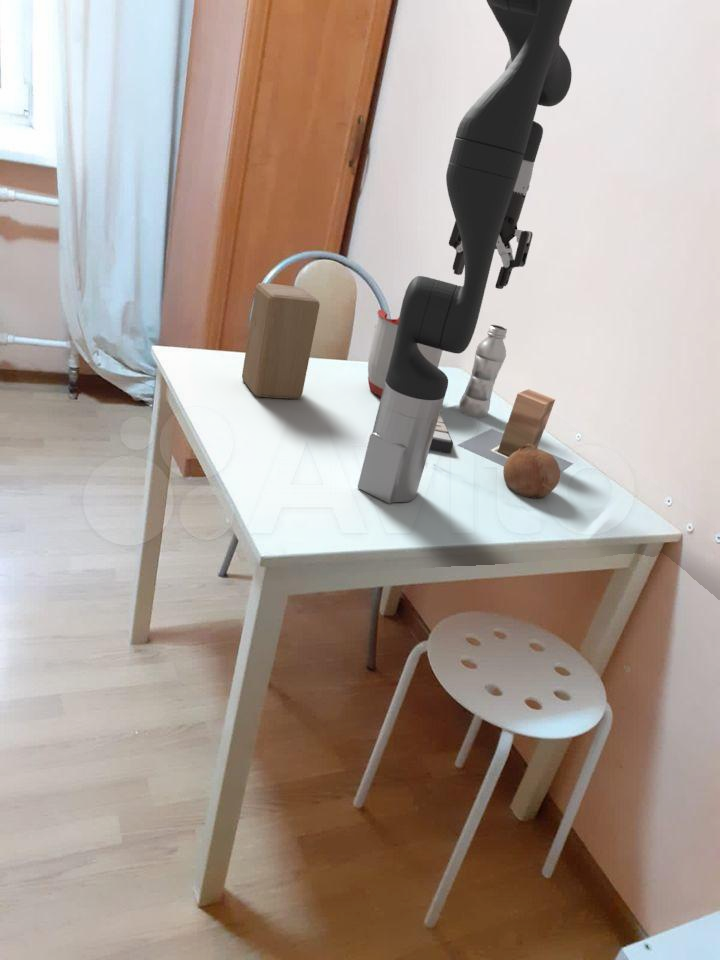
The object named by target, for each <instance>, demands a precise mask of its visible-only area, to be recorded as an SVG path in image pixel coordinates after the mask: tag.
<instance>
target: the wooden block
mask: <svg viewBox="0 0 720 960" xmlns="http://www.w3.org/2000/svg"><path fill="white" fill-rule="evenodd" d="M253 297H254V298H253V304H252V310H251V316H250V321H249V323H250V324H249V328H248V335H247V341H246V348H245V355H244V359H243V367H242V373H241V377H242V381H243V382H244V383H245V385H246V386H247V387H248V388H249V390H250V391H251V393H252V394H253V395H254V396H255V397H257V398H272V399H274V398H276V399H294V400H295V399H296V400H299V399H301V398H302V396H303V392H304V387H305V381H306V376H307V372H308V368H309V367H308V366H309V362H310V357H311V352H312V351H311V350H312V347H313V341H314V336H315V331H316V325H317V322H318V321H317V320H318V315H319V311H320V305H321V304H320V301H319V300H318V299H316V298H315V296H313V295H311V294H310V293H309V292H308V291H306V289H304V288H303V287H301V286H300V287H299V286H291V285H284V284H278V283H277V284H276V283H268V282H259V283H257V284H256V286H255V290H254V296H253Z"/></svg>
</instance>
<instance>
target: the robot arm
mask: <svg viewBox="0 0 720 960" xmlns="http://www.w3.org/2000/svg"><path fill="white" fill-rule="evenodd" d="M486 3H487V5H488V7H489V8H490V10H491V12H492V14H493V15H494V18H495V20H496V21H497V23H498V25H499V27H500V28H501V30H502V32H503V34H504V36H505V37H506V40H507V42H508V46H509V47H508V48H509V53H510V58H508V61H507V62H506V66H505V69H504V72H503V73H502V74H501V75H500V76H499V77H498V78H497V79H496V80H495V81H494V83H492V84H491V86H489V88H487V90H486V91H484V93H482V95H481V96H479V98H478V99H477V100H476V101H475V102H474V103H473V105H472V106H470V107H469V109H468V111H467V112H465V114H464V116H463V117H462V118H461V121H460V122H459V124H458V127H457V130H456V134H455V138H454V141H453V146H452V150H451V153H450V158H449V161H448V164H447V165H448V166H447V169H446V175H445V177H446V178H445V182H446V188H447V193H448V199H449V201H450V206H451V209H452V211H453V215H454V219H455V222H454V224H453V228H452V232H451V235H450V237H449V241H448V245H449V247H452V248H453V249H455V251H456V253H455V257H454V261H453V265H452V270H453V274H454V275H457V276H460V275H462V274H463V272H464V281H463V285H457V284H454V283H451V282H446V281H443V280H440V279H436V278H431V277H429V276H428V277H427V276H424V275H417V276H415V277H413V278H412V279H411V281H410V282H409V284H408V286H407V288H406V289H405V292H404V293H405V294H404V296H403V299H402V303H401V308H400V312H399V316H400V317H399V316H398V318H399V322H398V328H397V333H396V338H395V343H394V348H393V352H392V356H391V360H390V364H389V368H388V372H387V376H386V380H385V384H384V388H383V392H382V396H381V397H380V400H379V405H378V409H377V413H376V416H375V420H374V426H373V427H372V428H373V429H372V433H370V435H369V440H368V442H367V448H366V452H365V455H364V458H363V459H364V460H363V463H362V466H361V472H360V476H359V480H358V484H357V489H359V490H361V491H363V492H366V493H367V494H369V495H371V496H373V497H375V498H377V499H379V500H380V501H383V502H385V503H387V504H389V505H390V504H392V503H407V502H411V501H413V500H414V499H416V497H417V495H418V490H419V487H420V484H421V479H422V476H423V472H424V469H425V466H426V463H427V458H428V455H429V452H430V450H429V449H430V445H431V442H432V439H433V435H434V432H435V428H436V425H437V421H438V418H439V415H440V413H441V410H442V407H443V404H444V400H445V396H446V394H447V390H448V387H449V386H448V385H449V379H448V376H447V375H446V374H445V372H443V370H441V369H440V368H439V367H438V368H437V367H436V366H434V365H433V364H432V363H430V362H429V361H428V360H427V359H426V358H425V357H424V356H423V355H422V353H421V352H420V350H419V349H418V345H417V343H419V344H423V345H426V346H430V347H433V348H437V349H440V350H443V351H444V352H448V353H451V354H461V353H463V352H465V351H466V350H467V348H468V347H469V346H470V343H471V341H472V339H473V336H474V333H475V330H476V328H477V327H476V326H477V324H478V319H479V317H480V313H481V308H482V304H483V300H484V295H485V291H486V286H487V283H488V278H489V276H490V275H489V274H490V270H491V266H492V262H493V258H494V254H495V251H496V250H497V253H498V255H499V257H500V259H501V262H502V266H500V270H499V272H498V276H497V279H496V282H495V289H498V290H501V289H504V287H507V285H508V284H509V280H510V277H511V274H512V271H513V269H514V268H521V267H522V268H523V267H525V266H526V263H527V259H528V254H529V250H530V246H531V244H532V243H531V242H532V239H533V234H534V233H533V232H532V231H530V230H521V229H518V222H519V219H520V218H521V217H520V216H521V213H522V210H523V207H524V203H525V200H526V196H527V194H528V191H529V190H530V187H531V185H530V183H531V180H532V175H533V171H534V165H535V162H536V158H537V155H538V153H539V152H538V151H539V148H540V146H541V142H542V139H543V134H544V127H543V126H542V125H541V124H540V123H539V122H536V121H534V120H535V116H536V111H537V110H538V109H537V108H538V105H539V106H542V107H547V108H548V107H554V106H557V105H558V104H560V103H561V102H562V101H563V100H564V99H565V98H566V96H567V94H568V92H569V90H570V88H571V83H572V78H573V77H572V73H573V72H572V66H571V63H570V62H571V61H570V59H569V58H568V55H567V53H566V52H565V51H564V50H563V48H562V46H561V45H560V37H561V34H562V31H563V28H564V25H565V22H566V21H567V20H566V19H567V17H568V15H569V14H568V13H569V11H570V7H571V5H572V3H573V0H486ZM515 237H516V242H517V248H516V252H515V254H514V255H515V256H513V249H512V245H511V241H512V240H513V239H514V238H515Z"/></svg>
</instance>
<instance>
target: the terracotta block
mask: <svg viewBox="0 0 720 960" xmlns="http://www.w3.org/2000/svg"><path fill="white" fill-rule="evenodd" d="M555 401H556V399H555V398H552V397H550V396H548V395H545V394H542V393H540V392H537V391H536V390H532V389H529V388H528V389H524V390H523V391H521V392H518V393H517V394H516V397H515V401H514V404H513V405H512V406H513V407H512V409H511V412H510V415H509V418H508V420H507V423H508V424H510V425H513V426H515V427H517V428H520V429H522V430H525V431H527V432H529V433H532V434H536V433H538V432H540V431H542V430H545V429H546V426H547V424H548V422H549V418H550V416H551V413H552V410H553V406H554V405H555Z"/></svg>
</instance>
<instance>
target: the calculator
mask: <svg viewBox="0 0 720 960" xmlns="http://www.w3.org/2000/svg"><path fill="white" fill-rule="evenodd" d="M453 445H454V442H453V440H452V437H451V435H450V433H449V431H448V429H447V426H446V424H445V421H444V419H443V417H442V415H440V414H439V418H438V421H437V425H436V428H435V432H434V435H433V439H432V442H431V445H430V449H429V451H433V452H437V453H441V454H443V453H444V454H447V455H450V454H451V452H452V449H453Z"/></svg>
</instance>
